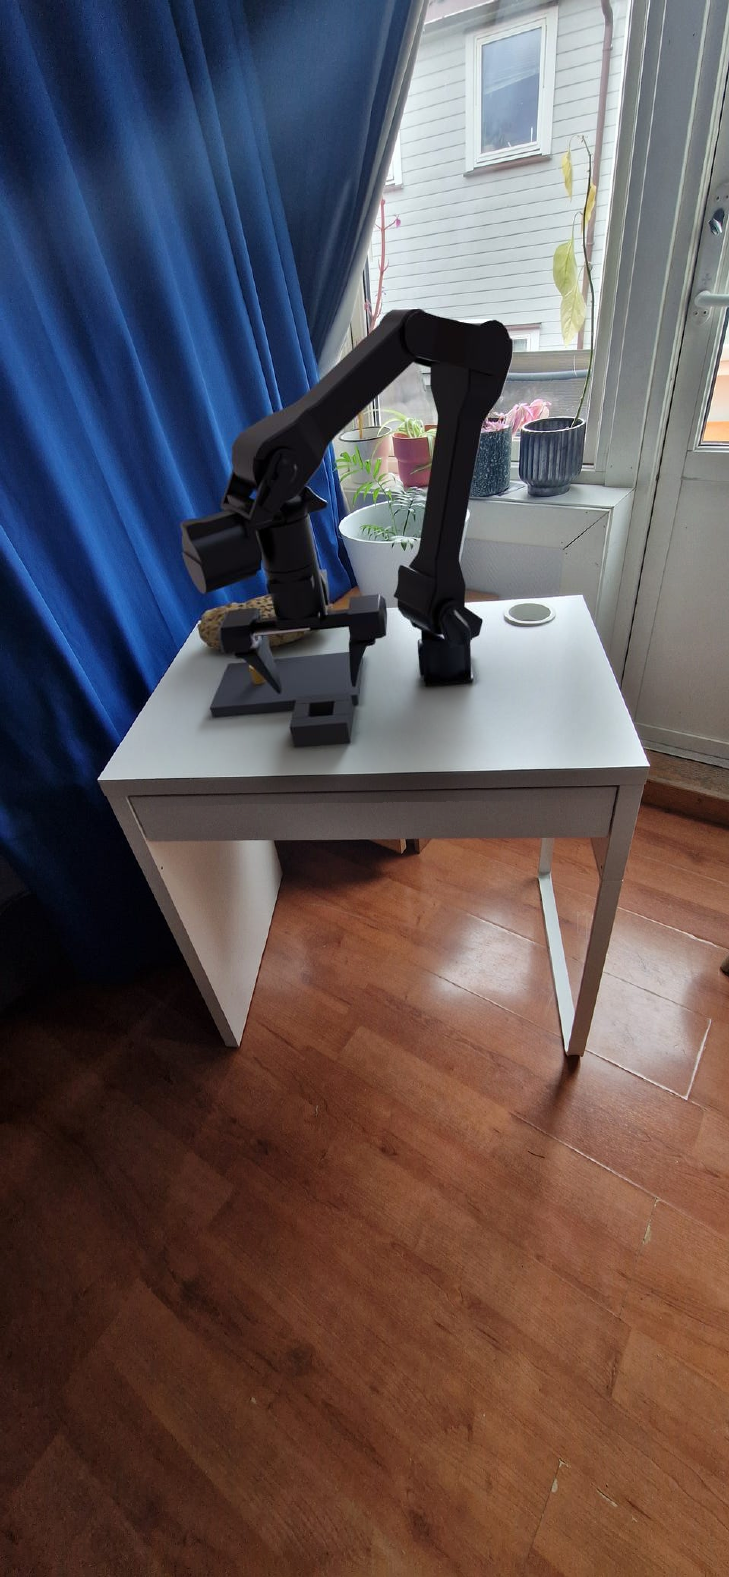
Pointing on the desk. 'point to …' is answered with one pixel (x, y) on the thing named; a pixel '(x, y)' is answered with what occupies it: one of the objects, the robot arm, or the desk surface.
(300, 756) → the desk surface
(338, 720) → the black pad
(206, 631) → the sponge
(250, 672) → the base pad
